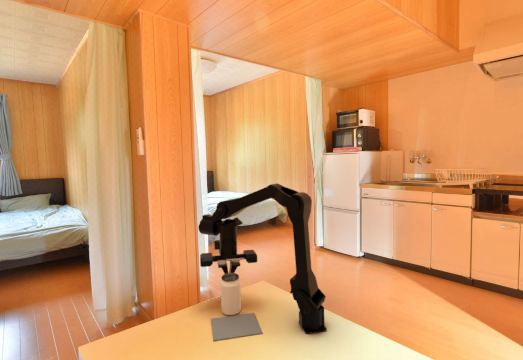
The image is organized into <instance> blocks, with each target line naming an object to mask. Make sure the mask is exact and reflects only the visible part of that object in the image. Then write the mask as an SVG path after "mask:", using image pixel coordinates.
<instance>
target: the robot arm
mask: <svg viewBox="0 0 523 360" xmlns="http://www.w3.org/2000/svg"><path fill="white" fill-rule="evenodd" d="M270 199H273V200H274V201H275V202H276V203H278V204H279V205H280V206H282V207H284V208H285V209H286V214H287V217H288V218H289V221H290V222H291V224H292V233H293V234H292V235H293V246H294V247H293V249H294V260H295V262H294V263H295V274H294V275H292V277H291V278H290V279H289V284H290V291H289V294H292V297H293V300H294V301H295V302H296V303H297V307H298V310H299V311H298V325H299V326H300V328H301V329H302V330H303V332H304V333H305V334H306V335H311V334H316V333H321V332H327V330H328V329H327V327H326V326H325V307H324V306H323V303H324V302H325V300H326V298H327V296H326V295H325V293H323V291H322V290H321V289H320V288H319V286H318V285H319V284H318V282H317V277H316V275H315V274H314V272H313V270H312V257H311V244H310V242H311V241H310V231H309V220H310V217H311V213H312V204H313V203H312V196H310V195H309V194H308V193H306V192H304V191H301V192H299V191H297V190H294V189H291V188H290V187H286V186H284V185H282V184H280V183H271V184H269V185H267V186H266V187H262V188H261V189H258V190H255V191H254V192H250V193H249V194H245V195H244V196H241V197H236V198H232V199H226V200H223V201H219V202H218V203H217V204H216V208H215V211H214V212H213V213H212V215H210V214H203V215H202V216H201V218H202V219H200V221H199V224H198V230H199V233H200V234H201V235H207V236H215V237H217V236H219V240H213V243H214V245H213V247H214V250H215V251H218V253H219V254H218V255H213V252H201V254H200V255H199V260H200V262H199V263H200V267H201V268H203V267H204V268H207V267H211V266H212V265H213V263H214V262H217V267H218V268H219V269H221V270H222V273H224V274H226V273H236V271H237V268H238V267H241V263H240V262H241V260H245V262H246V263H248V264H253V263H254V264H255V263H258V254H257V253H256V251H255V250H254V249H245V250H243V253H238V229H237V228H238V226H242V225H243V221H242V220H240V218H238V217H235V216H237V215H239V214H241V213H242V212H243V211H244V210H246V209H247V208H249V207H252V206H254V205H256V204H259V203H262V202H265V201H267V200H270ZM231 217H235V218H233V219H232V218H231ZM228 261H229V267H228V264H227V262H228Z"/></svg>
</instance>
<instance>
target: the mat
mask: <svg viewBox="0 0 523 360" xmlns="http://www.w3.org/2000/svg"><path fill="white" fill-rule="evenodd" d="M210 322H211V324H210V326H211V332H212V340H213V342H217V341H224V340H225V341H226V340H231V339H238V338H239V339H240V338H244V337H251V336H257V335H263V334H264V333H263V331H262V328H261V325H260V322H259V320H258V318H257V315H256V313H255V312H250V313H241V314H236V315H232V316H229V315H226V316H219V317H213V318H212V317H211V318H210Z"/></svg>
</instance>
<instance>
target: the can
mask: <svg viewBox="0 0 523 360" xmlns="http://www.w3.org/2000/svg"><path fill="white" fill-rule="evenodd" d="M219 284H220V302H221V312H222V313H223V314H224V315H226V316H233V315H239V313H240V312H241V311H242V290H241V289H242V287H241V286H242V285H241V279H240V275H239V274H238V273H236V272H234V273H229V272H228V273H226V274H225V273H224V274H223V275H221V279H220V283H219Z"/></svg>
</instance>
